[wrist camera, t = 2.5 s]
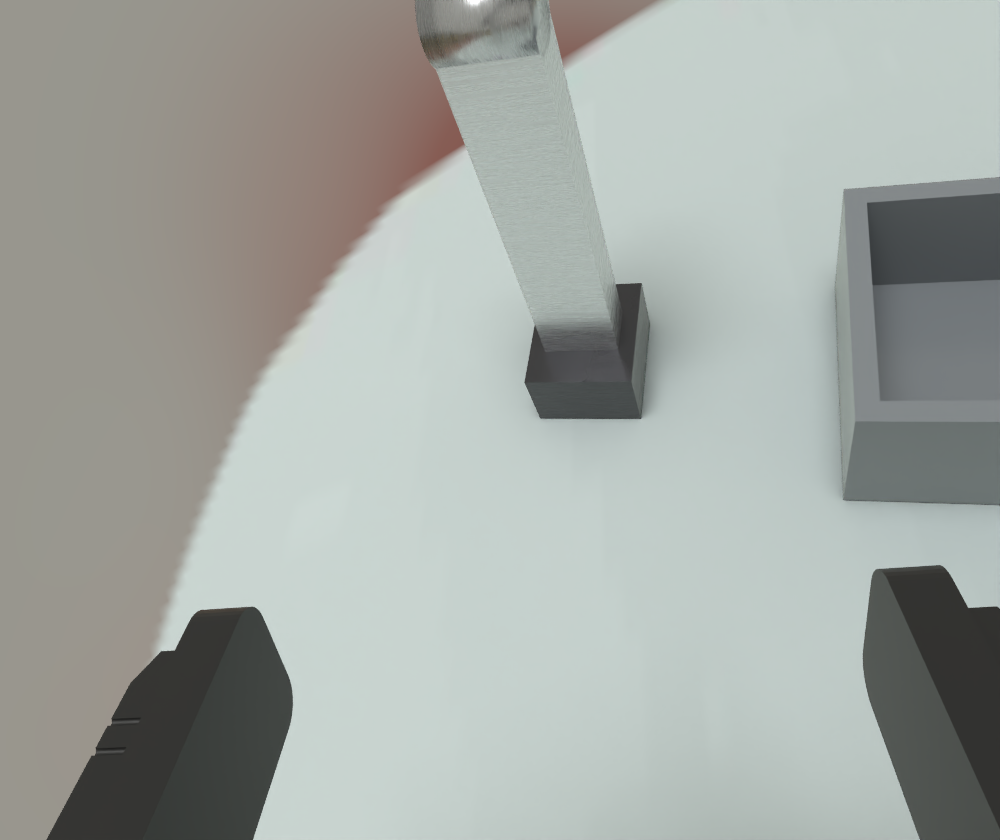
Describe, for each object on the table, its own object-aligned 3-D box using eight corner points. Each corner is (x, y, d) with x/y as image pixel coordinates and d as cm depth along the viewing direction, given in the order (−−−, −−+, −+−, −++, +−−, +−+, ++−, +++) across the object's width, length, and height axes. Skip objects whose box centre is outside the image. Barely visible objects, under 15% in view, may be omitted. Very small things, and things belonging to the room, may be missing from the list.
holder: (834, 287, 38) (843, 189, 33) (1111, 275, 34) (1167, 164, 30) (843, 499, 33) (855, 421, 28) (1169, 509, 29) (1248, 422, 24)
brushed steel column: (555, 327, 41) (414, -69, 25) (649, 324, 40) (564, -98, 24) (540, 418, 38) (373, 43, 22) (640, 418, 37) (538, 18, 21)
